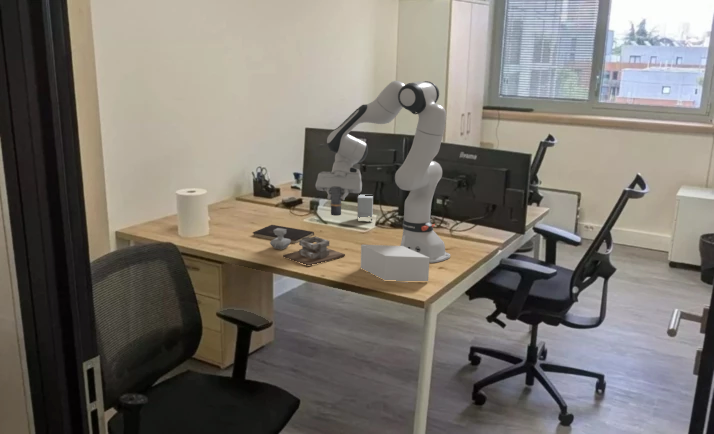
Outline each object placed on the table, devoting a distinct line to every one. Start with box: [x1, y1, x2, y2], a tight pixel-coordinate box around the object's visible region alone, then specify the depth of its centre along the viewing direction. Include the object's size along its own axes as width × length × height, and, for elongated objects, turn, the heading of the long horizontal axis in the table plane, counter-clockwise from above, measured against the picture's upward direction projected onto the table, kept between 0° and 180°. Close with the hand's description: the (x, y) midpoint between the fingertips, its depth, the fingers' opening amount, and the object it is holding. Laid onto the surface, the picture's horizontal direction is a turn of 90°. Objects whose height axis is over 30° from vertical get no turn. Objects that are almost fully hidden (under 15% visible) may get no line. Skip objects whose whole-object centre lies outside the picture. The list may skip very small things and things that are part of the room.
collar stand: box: [282, 235, 346, 265], centre depth 273 cm, size 16×20×7 cm
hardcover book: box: [252, 224, 315, 244], centre depth 302 cm, size 16×23×2 cm
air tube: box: [330, 186, 342, 217], centre depth 285 cm, size 5×5×12 cm
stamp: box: [269, 228, 292, 250], centre depth 283 cm, size 9×7×8 cm
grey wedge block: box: [360, 244, 430, 282], centre depth 252 cm, size 14×29×10 cm, turn 60°
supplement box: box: [357, 194, 374, 218], centre depth 329 cm, size 7×7×13 cm
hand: (335, 199), depth 284 cm, fingers closed on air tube, 4 cm apart
